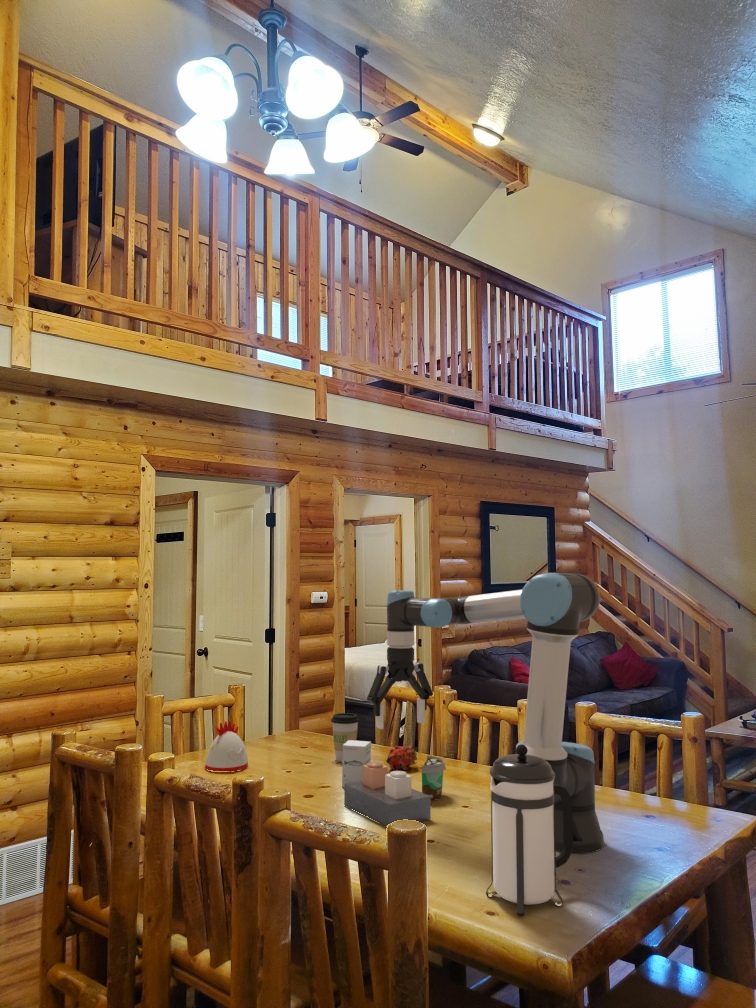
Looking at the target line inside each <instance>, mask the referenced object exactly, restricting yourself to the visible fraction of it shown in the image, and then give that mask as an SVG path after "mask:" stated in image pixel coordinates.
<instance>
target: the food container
mask: <svg viewBox="0 0 756 1008" xmlns="http://www.w3.org/2000/svg"><path fill="white" fill-rule="evenodd" d="M444 761H445V760H444V759H442V758H441V757H437V756H434V755H433V756H432V755H427V756H426V761H425V762H424V765H423V764H422V765H421V792H422V793H424V794H426V795H429V796H430V799H431V802H432V801H438V800H440V799H441V798H442V796H443V784H444V783H443V781H444V780H443V779H444V771H445V770H446V763H445V762H444Z"/></svg>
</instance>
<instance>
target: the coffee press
mask: <svg viewBox="0 0 756 1008" xmlns="http://www.w3.org/2000/svg"><path fill="white" fill-rule="evenodd" d="M516 751H517V753H518V754H513V753H512V754H505V755H503V756H500V757H498V758H496V759H495V761H493V764H492V767H490V768H489V774H490V785H489V788H490V799H491V800H490V811H491V812H490V822H491V823H490V825H491V826H490V827H491V828H490V830H491V833H490V835H491V836H490V837H491V839H490V840H491V842H490V843H491V883H490V884H489V885H488V887H487V888H486V891H485V895H486V896H487V897H488V893H489V890H490V889H491V887H492V885H493V888H494V892H493V893H492V894H493V895H492V896H493V897H494V896H495V895H496V894H497V895H498V896H500V897H501V898H503V899H504V900H506V901H509V902H511V903H514V904H516V916H517V915H519V916H518V917H522V916H524V917H525V910H526V909H525V908H526V905H539V904H542V903H546V902H548V901H549V900H550V901H551V902H552V903H553V904H554V905H555V903H556V902H557V901H556V899H555V898H554V897H553V896H554V895H555V894H556V896H557V897H558V898H559V900H560V901H561V902H562V905H563V904H564V898H563V897H562V895H561V894H560V892H559V891H558V888H557V887H558V886H557V868H560V867H562V866H563V865H565V864H566V863H567V862H568V861H569V859H570V856H571V855H572V853H571V852H572V847H573V816H572V802H571V797H570V795H569V793H568V791H567V790H566V789H565V788H564V787H562V786H559V785H553V781H554V779H555V772H554V771H553V770H552V767H551V765H550V764H549V763H548V762H547V761H546V760H544V759H542V758H540V757H536V756H532V755H526V754H527V751H528V750H527V747H526V746H525V745H523V744H520V745H518V746H517V749H516V748H515V752H516ZM555 794H558V795H559V796H560V798H561V800H562V805H563V848H562V851H560V853H559V854H558V855H557V853H556V851H557V850H556V840H555ZM554 846H555V850H554Z"/></svg>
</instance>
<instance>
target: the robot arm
mask: <svg viewBox="0 0 756 1008" xmlns="http://www.w3.org/2000/svg"><path fill="white" fill-rule="evenodd" d="M386 597H387V599H386V600H387V601H386V617H387V618H386V620H387V621H386V622H387V623H386V625H387V626H386V627H387V628H386V631H387V632H386V633H387V635H386V642H387V643H386V645H387V646H388V647H387V648H386V659H387V666H384V665H377V668H376V669H377V670H376V674H375V677H374V680H373V683H372V685H371V687H370V689H369V691H368V692H369V693H368V695H367V696H366V700H367V702H370V703H372V704H373V716H375V728H376V729H380V730H384V727H385V726H384V721H385V720H384V714H385V713H384V709H385V708H384V706H385V705H384V703H382V702H383V701H384V699H385V697H386V696H387V694H388V693H389V691H390V689H391V688H392V687H393V685H394V684H396V682H400V683H401V682H408V684H409V685H410V686H411V688H412V689H413V690H414V691H415V693H416V694H417V695H418V698H416V723H418V724H422V725H424V724H426V711H427V709H428V706H427V705H428V703H427V701H428V700H430V697H433V696H434V693H433V690H432V688H431V686H430V682H429V680H428V678H427V676H426V673H425V670H424V664H423V663H422V662H415V663H414V661H415V648H414V647H413V646H414V645H415V626H416V627H417V626H418V627H426V628H429V627H430V628H432V629H434V628H445V627H447V626H455V625H461V626H463V625H464V626H465V625H469V624H477V623H488V622H490V623H491V622H500V621H501V622H502V621H509V620H510V621H511V620H513V621H514V620H523V619H526V620H527V622H526V623H527V624H526V630H527V631H528V632H529V633H530V635H531V637H532V641H531V652H530V663H529V664H530V665H529V675H528V686H527V699H526V708H525V709H526V710H525V719H524V728H523V729H524V730H523V732H524V733H523V739H522V740H520V741H519V742H518V743H517V744H516V746H515V754H518V753H517V751H516V749H517V746H518V745H520V744H523V745H525V746H526V747H527V750H528V751H527V754H526V755H532V756H536V757H540V758H542V759H544V760H546V761H547V762H548V763H549V764H550V765H551V767H552V770H553V771H554V772H555V779H554V781H553V785H559V786H562V787H564V788H565V789H566V790H567V791H568V793H569V795H570V797H571V802H572V816H573V847H572V852H571V854H588V852H590V853H594V852H593V851H595V852H597V851H596V850H598V851H600V850H602V849H603V848H604V846H603V845H605V842H604V841H605V840H604V833H603V831H602V830H601V826H600V822H599V819H598V815H597V812H596V783H595V781H596V779H595V777H596V775H595V774H596V773H595V764H596V761H595V757H594V751H593V749H592V748H591V747H590V746H588V745H585V744H580V743H577V742H576V743H575V742H570V741H569V742H568V741H563V732H564V722H565V721H564V720H565V711H566V699H567V698H566V697H567V689H568V687H567V686H568V679H569V678H568V676H569V675H568V674H569V667H570V666H569V664H570V656H571V655H570V654H571V652H570V651H571V645H572V641H573V640H574V639H575V638H577V637H578V636H579V631H580V623H581V622H584V621H586V620H589V619H590V618H591V617H593V616H594V615H595V613H596V612H597V611H598V609H599V606H600V604H601V603H600V602H601V595H600V591H599V588H598V586H597V585H596V584H595V581H593V580H592V579H591V578H590V577H588V576H587V575H584V574H581V573H573V572H572V573H565V572H564V573H563V572H562V573H561V572H546V573H541V574H537V575H535V576H533V577H531V578H530V579H529V580H528V581H527V582H526V583H525V585H524V586H523V587H522V589H514V590H507V591H505V590H504V591H499V592H491V593H482V594H474V595H466V596H456V597H433V598H432V597H431V598H430V597H429V598H426V597H425V598H423V597H418V598H417V597H415V592H414V591H413V590H401V589H400V590H399V589H398V590H390V591H388V593H387V596H386ZM413 672H415V675H416V677H417V679H416V677H415V675H414V673H413ZM386 675H387V676H386ZM417 680H418V681H417ZM555 840H556V851H559V852H561V851H562V848H563V805H562V800H561V798H560V796H559V795H558V794H555ZM602 847H603V848H602ZM601 848H602V849H601ZM599 849H600V850H599ZM554 851H555V846H554Z"/></svg>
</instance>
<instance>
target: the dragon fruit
mask: <svg viewBox="0 0 756 1008" xmlns="http://www.w3.org/2000/svg"><path fill="white" fill-rule="evenodd" d="M385 762H386V763H387V764H388V765H389V768H390V770H391V771H392V770H393V771H400V769H402V771H404V772H406V770H408V769H409V770H410V768H411V766H414V765H416V764H417V750H415V748H413V746H411V745H409V746H406V745H405V744H404V743H403V744H402V746H400V745H396V746H394V748H391V749H390V750H389V753H388V756H387V759H386V761H385Z"/></svg>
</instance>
